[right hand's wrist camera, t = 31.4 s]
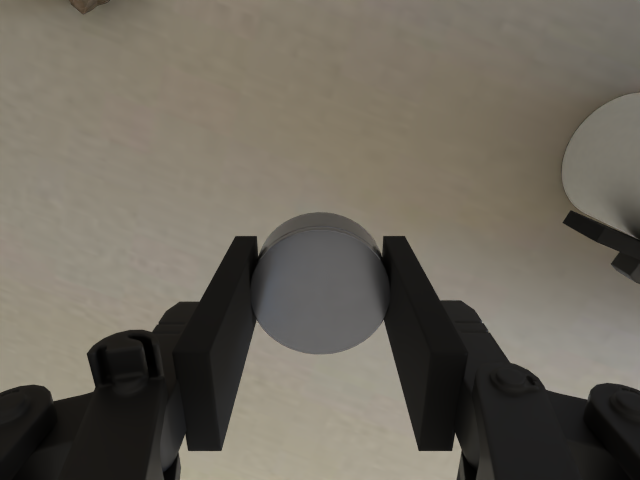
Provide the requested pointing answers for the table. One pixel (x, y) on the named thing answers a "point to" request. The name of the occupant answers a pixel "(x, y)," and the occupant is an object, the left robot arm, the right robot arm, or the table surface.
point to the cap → (320, 284)
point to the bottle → (607, 165)
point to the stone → (86, 4)
